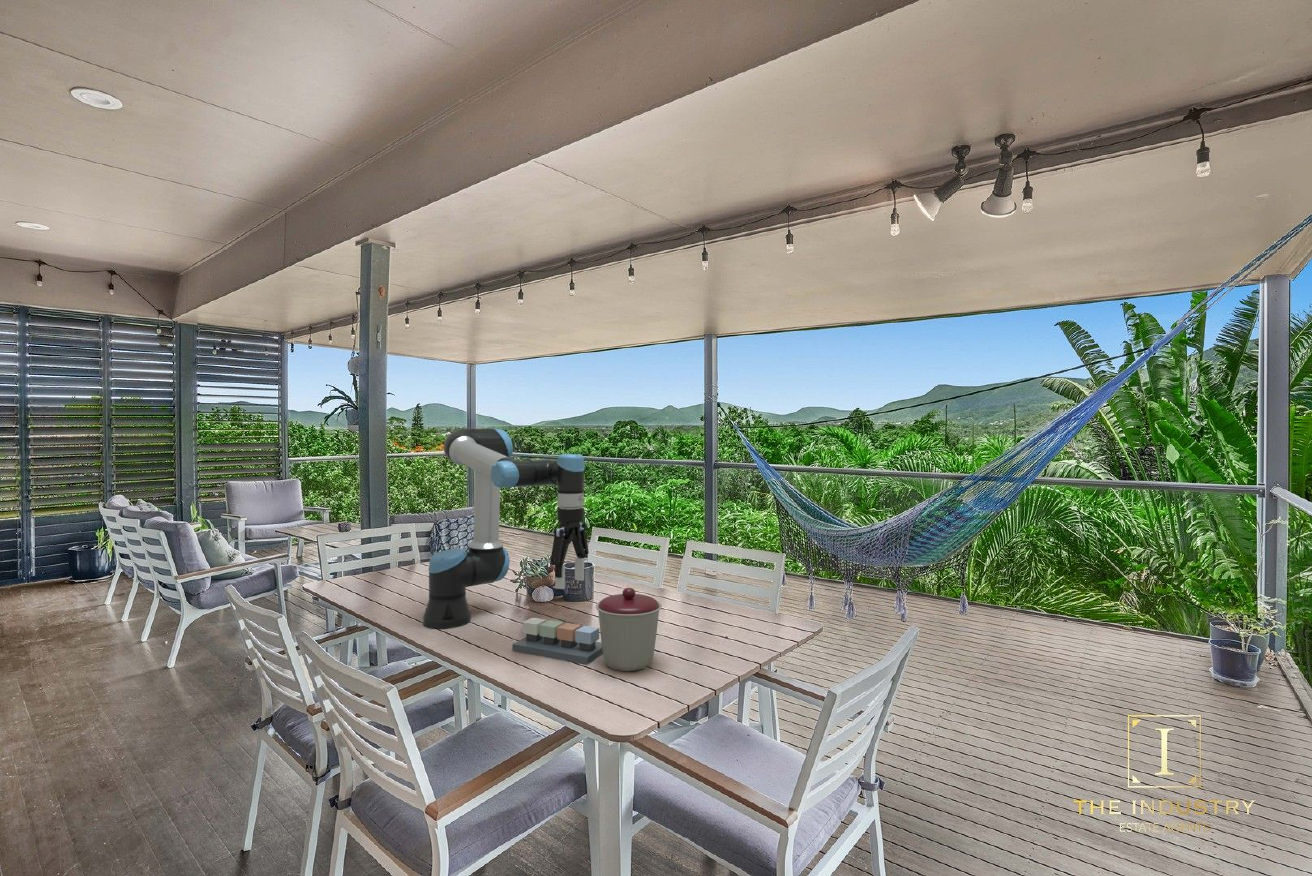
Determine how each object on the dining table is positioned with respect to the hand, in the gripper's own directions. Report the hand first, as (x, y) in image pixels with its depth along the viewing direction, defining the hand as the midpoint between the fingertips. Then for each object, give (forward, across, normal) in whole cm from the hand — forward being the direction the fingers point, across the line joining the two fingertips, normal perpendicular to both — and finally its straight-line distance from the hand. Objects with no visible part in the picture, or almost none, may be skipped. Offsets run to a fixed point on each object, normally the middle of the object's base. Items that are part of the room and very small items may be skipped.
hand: (569, 584), depth 173 cm
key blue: (+15, 0, -6) cm, 17 cm away
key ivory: (+15, 0, +12) cm, 20 cm away
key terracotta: (+15, 0, 0) cm, 15 cm away
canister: (+20, -1, -20) cm, 28 cm away
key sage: (+15, 0, +6) cm, 17 cm away
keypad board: (+20, 0, +3) cm, 20 cm away
